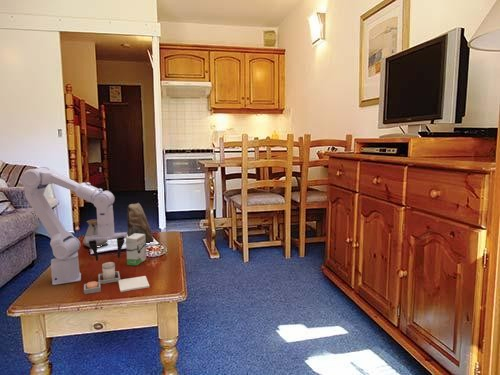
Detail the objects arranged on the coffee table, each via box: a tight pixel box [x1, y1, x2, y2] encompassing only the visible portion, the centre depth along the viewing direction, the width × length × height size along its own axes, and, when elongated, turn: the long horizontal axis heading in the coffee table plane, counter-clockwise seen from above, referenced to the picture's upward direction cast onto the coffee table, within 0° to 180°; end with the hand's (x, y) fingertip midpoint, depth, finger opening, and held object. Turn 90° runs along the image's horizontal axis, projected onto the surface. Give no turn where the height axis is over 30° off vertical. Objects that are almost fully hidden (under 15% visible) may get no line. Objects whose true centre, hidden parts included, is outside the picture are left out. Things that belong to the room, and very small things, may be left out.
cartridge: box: [101, 261, 116, 280], centre depth 138 cm, size 4×4×6 cm
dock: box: [83, 270, 121, 295], centre depth 135 cm, size 12×14×2 cm
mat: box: [117, 275, 150, 293], centre depth 134 cm, size 10×10×1 cm
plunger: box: [86, 280, 99, 289], centre depth 129 cm, size 4×4×2 cm
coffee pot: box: [82, 218, 109, 249], centre depth 174 cm, size 21×12×15 cm, turn 21°
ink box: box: [125, 233, 147, 266], centre depth 156 cm, size 9×5×12 cm, turn 168°
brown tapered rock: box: [125, 202, 154, 243], centre depth 183 cm, size 13×13×20 cm
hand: (108, 258), depth 138 cm, fingers open, 7 cm apart
